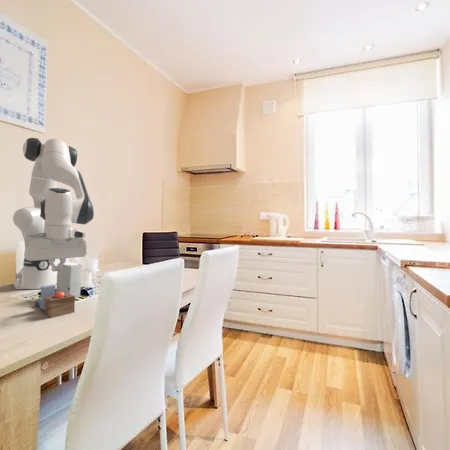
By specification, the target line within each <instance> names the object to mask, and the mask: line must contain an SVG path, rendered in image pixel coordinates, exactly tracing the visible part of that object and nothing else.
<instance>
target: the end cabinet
mask: <svg viewBox="0 0 450 450" xmlns="http://www.w3.org/2000/svg"><path fill="white" fill-rule="evenodd" d="M75 300H76V298H75V296H73V295H70V294H68V293H66V294H64V297H63V298H58V299H56V298H55V296H50V297H44V310H43V313H44V315H45V316H47V317H49V318H51V319H53V318H56V317H60V316H63V315H69V314H72V313H75V310H76V309H75V306H76V305H75V302H76V301H75Z"/></svg>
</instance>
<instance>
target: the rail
mask: <svg viewBox="0 0 450 450" xmlns="http://www.w3.org/2000/svg"><path fill="white" fill-rule="evenodd" d="M34 306H35V307H37V308H39V309H41V308H40V304H39V299H35V300H34ZM41 310H42V309H41Z"/></svg>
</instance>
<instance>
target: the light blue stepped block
mask: <svg viewBox="0 0 450 450" xmlns="http://www.w3.org/2000/svg"><path fill="white" fill-rule="evenodd" d="M55 293H56V284H55V285H53V284H52V285H45V286H41V288H40V298H39V299H38V300H39V304H40V308H41V310H42V311H44V297H50V296H55ZM40 308H39V309H40Z"/></svg>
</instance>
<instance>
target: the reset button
mask: <svg viewBox="0 0 450 450" xmlns="http://www.w3.org/2000/svg"><path fill="white" fill-rule="evenodd" d="M63 297H64V292H56V291H55V298H56V299H58V298H63Z"/></svg>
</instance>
